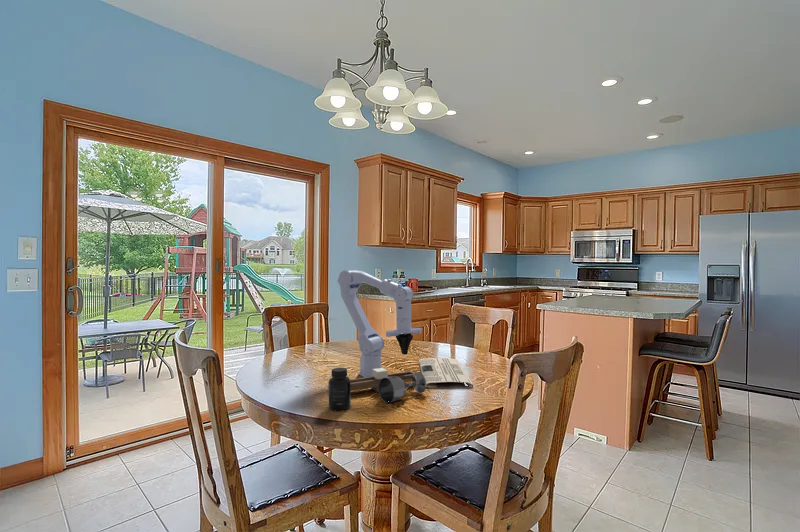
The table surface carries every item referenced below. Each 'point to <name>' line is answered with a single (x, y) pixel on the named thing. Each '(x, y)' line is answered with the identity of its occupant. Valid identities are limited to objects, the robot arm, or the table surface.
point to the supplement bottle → (339, 390)
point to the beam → (377, 381)
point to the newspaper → (443, 371)
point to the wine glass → (399, 387)
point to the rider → (380, 373)
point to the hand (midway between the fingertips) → (404, 353)
